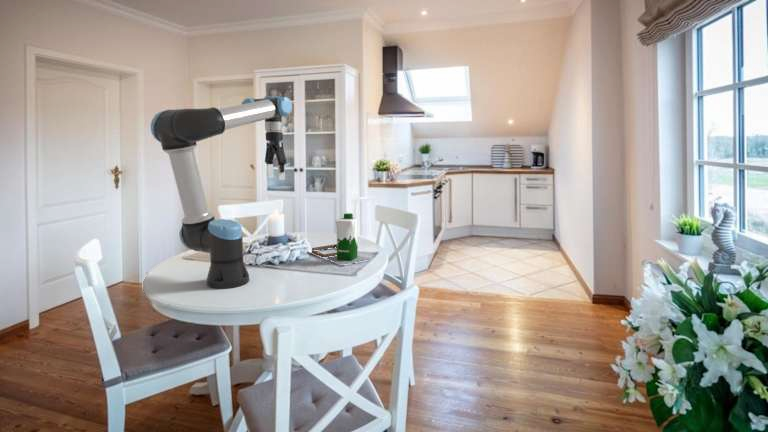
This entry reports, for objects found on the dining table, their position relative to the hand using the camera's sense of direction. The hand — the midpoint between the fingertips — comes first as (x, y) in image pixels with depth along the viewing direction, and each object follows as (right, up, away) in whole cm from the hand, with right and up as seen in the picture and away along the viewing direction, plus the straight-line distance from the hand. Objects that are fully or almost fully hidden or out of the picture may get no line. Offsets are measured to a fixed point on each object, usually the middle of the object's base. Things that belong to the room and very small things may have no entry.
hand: (276, 179), depth 202 cm
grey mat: (+33, -37, -4) cm, 50 cm away
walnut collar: (+23, -35, +10) cm, 43 cm away
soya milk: (+33, -36, -4) cm, 49 cm away
